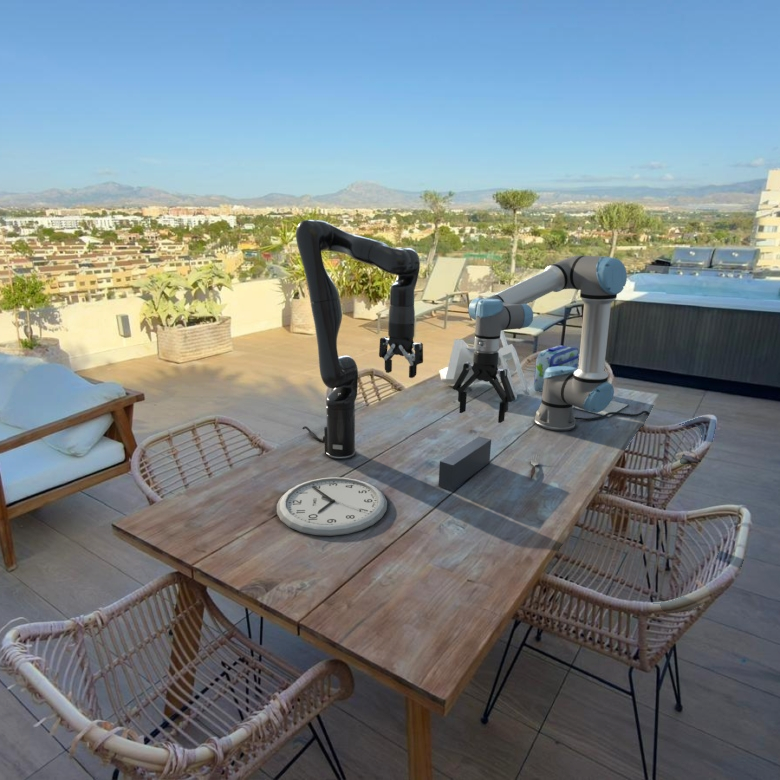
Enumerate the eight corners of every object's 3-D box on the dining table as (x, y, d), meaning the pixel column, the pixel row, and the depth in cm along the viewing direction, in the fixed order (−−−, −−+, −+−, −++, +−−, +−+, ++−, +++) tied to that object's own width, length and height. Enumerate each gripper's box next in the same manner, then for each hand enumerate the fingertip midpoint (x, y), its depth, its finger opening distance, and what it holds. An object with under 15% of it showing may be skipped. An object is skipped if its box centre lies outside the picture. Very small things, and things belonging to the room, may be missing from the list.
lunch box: (550, 398, 235) (555, 353, 229) (529, 393, 243) (534, 349, 236) (577, 387, 253) (583, 345, 247) (557, 382, 260) (562, 341, 254)
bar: (477, 459, 173) (479, 436, 171) (489, 462, 171) (491, 439, 168) (438, 486, 154) (439, 461, 152) (451, 490, 152) (452, 465, 149)
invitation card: (608, 416, 214) (573, 407, 224) (608, 416, 214) (573, 408, 224) (628, 404, 229) (594, 396, 238) (628, 405, 229) (594, 397, 238)
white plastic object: (461, 429, 252) (437, 405, 227) (444, 352, 274) (420, 323, 250) (535, 404, 240) (518, 377, 215) (510, 326, 262) (492, 293, 237)
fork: (526, 479, 159) (527, 473, 159) (531, 458, 173) (532, 453, 173) (535, 480, 158) (536, 474, 158) (539, 460, 173) (540, 454, 172)
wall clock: (392, 527, 129) (268, 531, 127) (391, 533, 130) (269, 537, 127) (383, 473, 158) (282, 475, 155) (383, 478, 158) (282, 480, 156)
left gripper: (374, 319, 151) (373, 373, 156) (414, 325, 143) (412, 382, 148) (389, 316, 157) (388, 368, 162) (429, 321, 149) (427, 376, 154)
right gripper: (444, 346, 163) (441, 411, 169) (519, 359, 148) (513, 429, 155) (456, 343, 168) (453, 405, 175) (530, 355, 154) (523, 422, 160)
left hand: (400, 374), depth 155 cm, fingers open, 8 cm apart
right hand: (481, 416), depth 165 cm, fingers open, 13 cm apart
